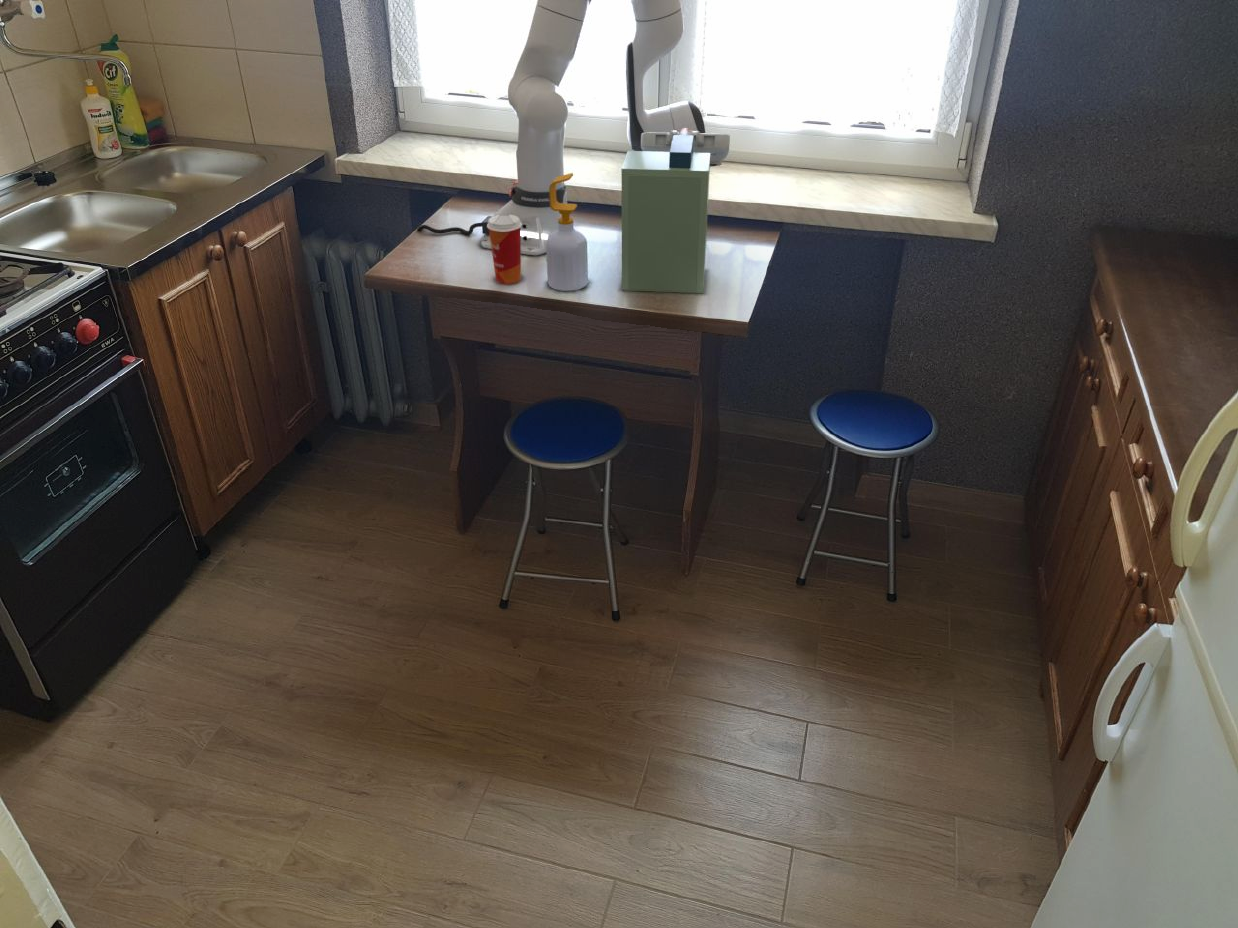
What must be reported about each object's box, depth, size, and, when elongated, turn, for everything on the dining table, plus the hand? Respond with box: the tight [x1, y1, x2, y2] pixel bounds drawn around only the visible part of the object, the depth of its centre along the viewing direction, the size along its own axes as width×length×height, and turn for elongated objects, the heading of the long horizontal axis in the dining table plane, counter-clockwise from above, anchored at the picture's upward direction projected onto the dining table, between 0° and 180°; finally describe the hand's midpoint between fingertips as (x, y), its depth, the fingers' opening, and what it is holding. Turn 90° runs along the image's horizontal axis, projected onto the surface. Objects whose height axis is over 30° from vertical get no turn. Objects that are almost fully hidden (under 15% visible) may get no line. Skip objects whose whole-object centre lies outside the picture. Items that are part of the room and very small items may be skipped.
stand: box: [621, 150, 711, 294], centre depth 209 cm, size 13×18×27 cm
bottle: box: [669, 128, 694, 168], centre depth 205 cm, size 20×4×3 cm, turn 174°
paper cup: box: [487, 215, 522, 285], centre depth 214 cm, size 8×8×14 cm
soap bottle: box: [545, 172, 589, 292], centre depth 209 cm, size 9×9×25 cm
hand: (684, 134), depth 211 cm, fingers open, 3 cm apart
